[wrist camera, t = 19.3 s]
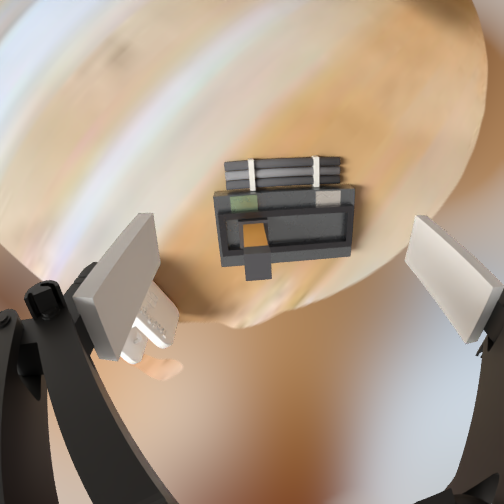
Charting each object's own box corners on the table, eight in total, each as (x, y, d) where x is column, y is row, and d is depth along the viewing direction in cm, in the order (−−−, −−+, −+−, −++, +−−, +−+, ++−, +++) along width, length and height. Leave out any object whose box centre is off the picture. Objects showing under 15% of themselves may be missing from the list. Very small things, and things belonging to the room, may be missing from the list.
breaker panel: (222, 258, 52) (221, 270, 48) (214, 191, 46) (212, 199, 42) (344, 248, 52) (352, 259, 48) (348, 184, 46) (357, 190, 43)
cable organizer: (98, 277, 52) (74, 313, 42) (133, 251, 50) (110, 286, 40) (147, 328, 58) (134, 368, 48) (184, 308, 56) (174, 350, 46)
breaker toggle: (240, 245, 47) (241, 283, 37) (238, 219, 45) (238, 252, 35) (268, 243, 47) (276, 280, 37) (266, 217, 45) (275, 249, 35)
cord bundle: (227, 189, 46) (226, 192, 45) (224, 160, 44) (223, 162, 42) (337, 183, 46) (340, 186, 45) (337, 155, 44) (341, 156, 43)
